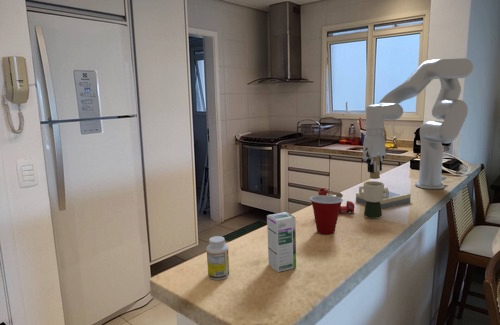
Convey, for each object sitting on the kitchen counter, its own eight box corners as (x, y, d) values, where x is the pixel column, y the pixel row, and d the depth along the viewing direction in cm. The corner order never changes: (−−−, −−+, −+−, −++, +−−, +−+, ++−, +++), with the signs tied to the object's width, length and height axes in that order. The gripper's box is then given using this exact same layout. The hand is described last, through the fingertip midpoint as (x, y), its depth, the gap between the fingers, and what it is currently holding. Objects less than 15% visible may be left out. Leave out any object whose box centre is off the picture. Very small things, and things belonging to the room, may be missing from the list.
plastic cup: (343, 227, 123) (344, 194, 121) (340, 239, 113) (341, 203, 111) (312, 224, 127) (312, 192, 125) (306, 236, 117) (307, 201, 115)
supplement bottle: (218, 268, 97) (217, 233, 95) (233, 274, 93) (232, 237, 91) (203, 276, 92) (201, 239, 91) (218, 283, 89) (216, 245, 87)
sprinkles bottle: (381, 178, 164) (382, 149, 161) (372, 179, 163) (372, 150, 160) (376, 176, 168) (376, 148, 165) (367, 177, 167) (367, 149, 164)
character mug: (390, 217, 132) (392, 183, 130) (384, 222, 127) (386, 187, 124) (361, 212, 139) (362, 179, 136) (355, 217, 133) (355, 183, 131)
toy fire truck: (355, 214, 136) (355, 190, 135) (318, 214, 138) (319, 190, 136) (353, 211, 140) (354, 187, 138) (318, 211, 141) (318, 188, 139)
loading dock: (385, 194, 161) (385, 187, 160) (410, 202, 149) (410, 193, 149) (355, 201, 152) (356, 193, 152) (379, 209, 141) (379, 200, 141)
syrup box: (277, 273, 93) (276, 220, 90) (267, 263, 99) (266, 213, 96) (296, 268, 95) (296, 217, 93) (285, 259, 101) (285, 210, 98)
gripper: (381, 129, 168) (381, 167, 172) (354, 133, 161) (355, 172, 164) (394, 130, 162) (394, 169, 165) (367, 134, 154) (367, 175, 158)
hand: (374, 170), depth 165 cm, fingers closed on sprinkles bottle, 4 cm apart
